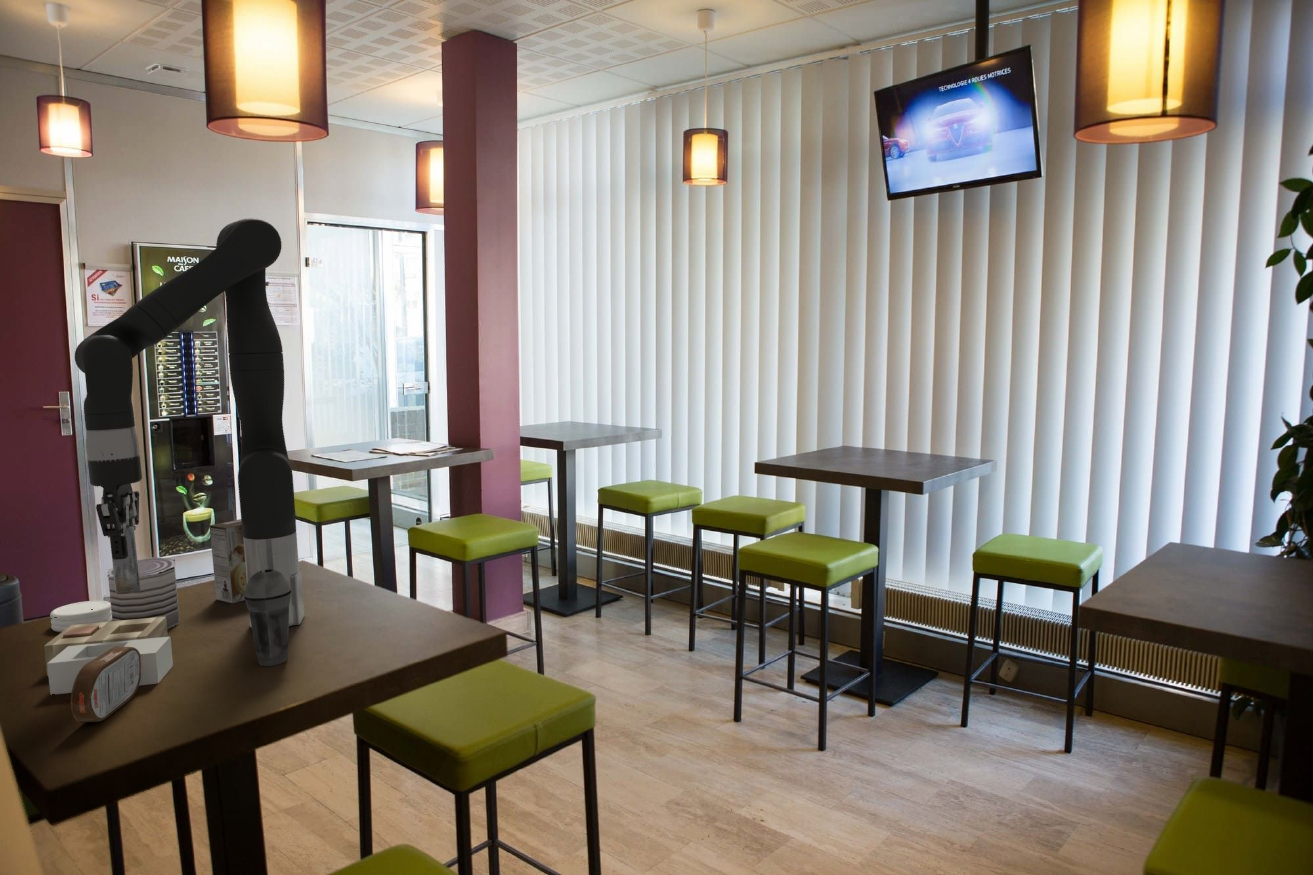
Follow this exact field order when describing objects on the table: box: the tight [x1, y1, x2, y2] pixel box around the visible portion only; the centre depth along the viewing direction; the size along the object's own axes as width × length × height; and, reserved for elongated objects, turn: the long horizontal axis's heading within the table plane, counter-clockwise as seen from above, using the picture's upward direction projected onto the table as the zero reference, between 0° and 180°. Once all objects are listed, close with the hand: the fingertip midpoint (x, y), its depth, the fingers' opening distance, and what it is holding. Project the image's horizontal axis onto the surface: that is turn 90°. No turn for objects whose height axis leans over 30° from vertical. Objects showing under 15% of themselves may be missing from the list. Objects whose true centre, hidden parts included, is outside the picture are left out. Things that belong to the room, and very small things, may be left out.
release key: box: [63, 625, 99, 638], centre depth 149 cm, size 4×4×4 cm
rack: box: [47, 636, 174, 696], centre depth 140 cm, size 15×8×5 cm, turn 104°
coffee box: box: [209, 518, 247, 604], centre depth 186 cm, size 9×6×16 cm
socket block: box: [43, 617, 169, 677], centre depth 150 cm, size 15×11×5 cm
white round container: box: [49, 600, 112, 633], centre depth 170 cm, size 10×10×4 cm
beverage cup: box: [244, 545, 292, 667], centre depth 146 cm, size 7×7×20 cm
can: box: [107, 556, 180, 630], centre depth 167 cm, size 11×11×12 cm
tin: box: [70, 646, 141, 723], centre depth 128 cm, size 15×3×8 cm, turn 5°
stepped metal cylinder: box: [109, 516, 140, 594], centre depth 149 cm, size 4×4×13 cm
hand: (124, 555), depth 149 cm, fingers closed on stepped metal cylinder, 3 cm apart
